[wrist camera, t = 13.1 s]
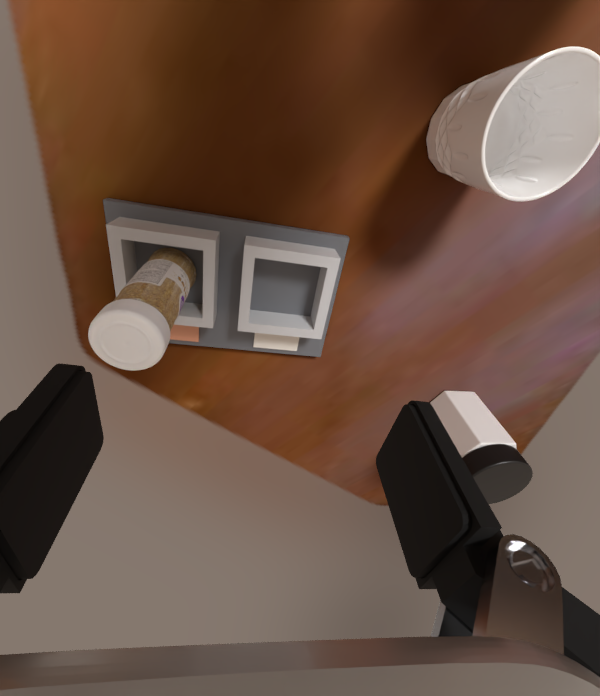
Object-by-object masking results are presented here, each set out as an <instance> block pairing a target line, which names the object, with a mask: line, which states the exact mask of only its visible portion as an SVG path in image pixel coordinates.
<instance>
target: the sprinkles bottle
mask: <svg viewBox="0 0 600 696" xmlns="http://www.w3.org/2000/svg"><path fill="white" fill-rule="evenodd" d="M195 280H196V268H195V266H194V264H193V262H192V260H191V259H190V258H189V257H188V256H187V255H186V254H185V253H183V252H182V251H179V250H177V249H174V248H162V249H159V250H157V251H155V252H154V253H153V254H152V255H151V256H150V258H149V260H148V262H147V263H145V264H144V265H143V266H142V267H141V268H140V269H139V270H138V272H137V273H136V274H135V275H134V276H133V277H132V278H131V280H130V281H129V282H128V283H127V284H126V285H125V286H124V288H123V289H122V290H121V291H120V293H119V295H118V296H117V297H116V298H115V299H114V301H113V302H111V303H109V304H107V305H106V306H105V307H104V308H103V309H102V310H101V311H100V312H99V313H98V314H97V316H96V317H95V318H94V320H93V321H92V322H91V324H90V327H89V331H88V338H89V342H90V345H91V347H92V349H93V350H94V352H95V353H96V354H97V355H98V356H99V357H100V358H101V359H102V360H103V361H105V362H106V363H108V364H110V365H112V366H114V367H117V368H120V369H124V370H132V371H136V370H143V369H147V368H149V367H152V366H153V365H155V364H156V363H157V362H158V361H160V359H161V358H162V356H163V354H164V353H165V351H166V348H167V346H168V344H169V341H170V331H171V329H172V327H173V325H174V322H175V320H176V319H177V317H178V315H179V313H180V311H181V309H182V306H183V304H184V302H185V300H186V298H187V296H188V294H189V290H190V288H191V287H192V286H193V284H194V282H195Z"/></svg>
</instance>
